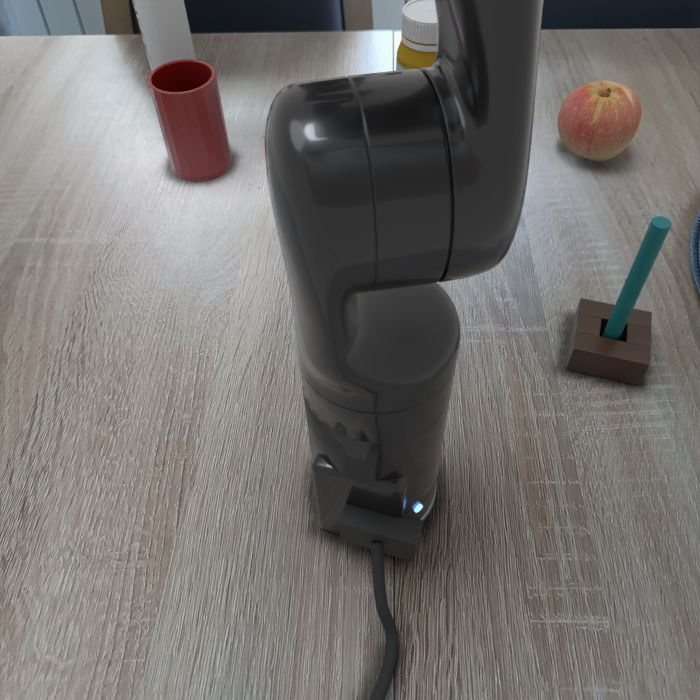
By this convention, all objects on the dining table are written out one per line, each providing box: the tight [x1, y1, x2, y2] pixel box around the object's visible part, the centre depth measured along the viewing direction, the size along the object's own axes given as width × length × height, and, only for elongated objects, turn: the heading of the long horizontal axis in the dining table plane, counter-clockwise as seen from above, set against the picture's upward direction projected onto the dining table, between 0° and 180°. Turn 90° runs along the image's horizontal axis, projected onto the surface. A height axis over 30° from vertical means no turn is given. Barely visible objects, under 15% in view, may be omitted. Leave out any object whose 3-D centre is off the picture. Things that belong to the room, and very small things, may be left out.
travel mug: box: [131, 0, 197, 72], centre depth 84 cm, size 6×7×20 cm
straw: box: [602, 215, 672, 340], centre depth 53 cm, size 1×1×15 cm
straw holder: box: [565, 297, 653, 386], centre depth 58 cm, size 6×6×3 cm
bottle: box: [395, 0, 437, 71], centre depth 76 cm, size 7×7×15 cm
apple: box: [557, 80, 642, 162], centre depth 75 cm, size 9×9×8 cm
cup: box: [147, 59, 233, 182], centre depth 74 cm, size 7×7×11 cm
